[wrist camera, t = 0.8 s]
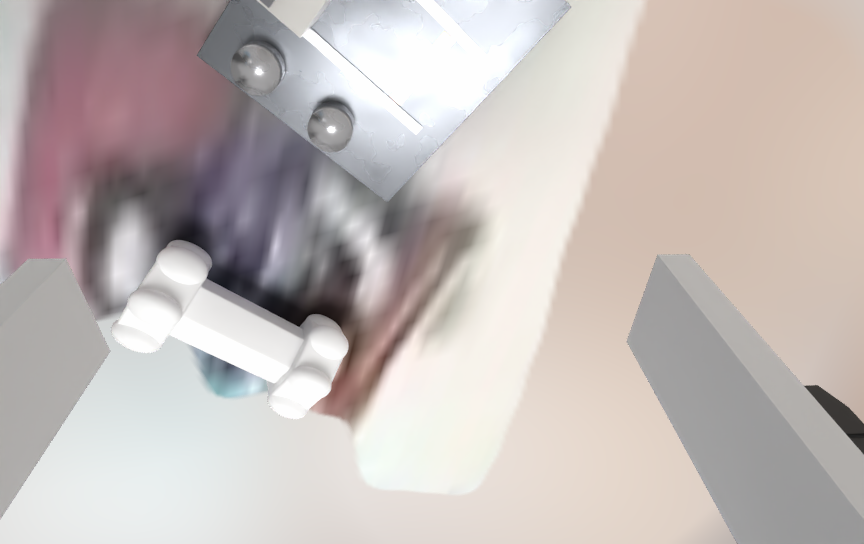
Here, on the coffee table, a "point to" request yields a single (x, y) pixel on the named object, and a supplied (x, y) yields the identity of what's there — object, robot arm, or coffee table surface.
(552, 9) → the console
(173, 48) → the coffee table surface
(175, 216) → the coffee table surface
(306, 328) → the bone shaped toy
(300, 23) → the block
